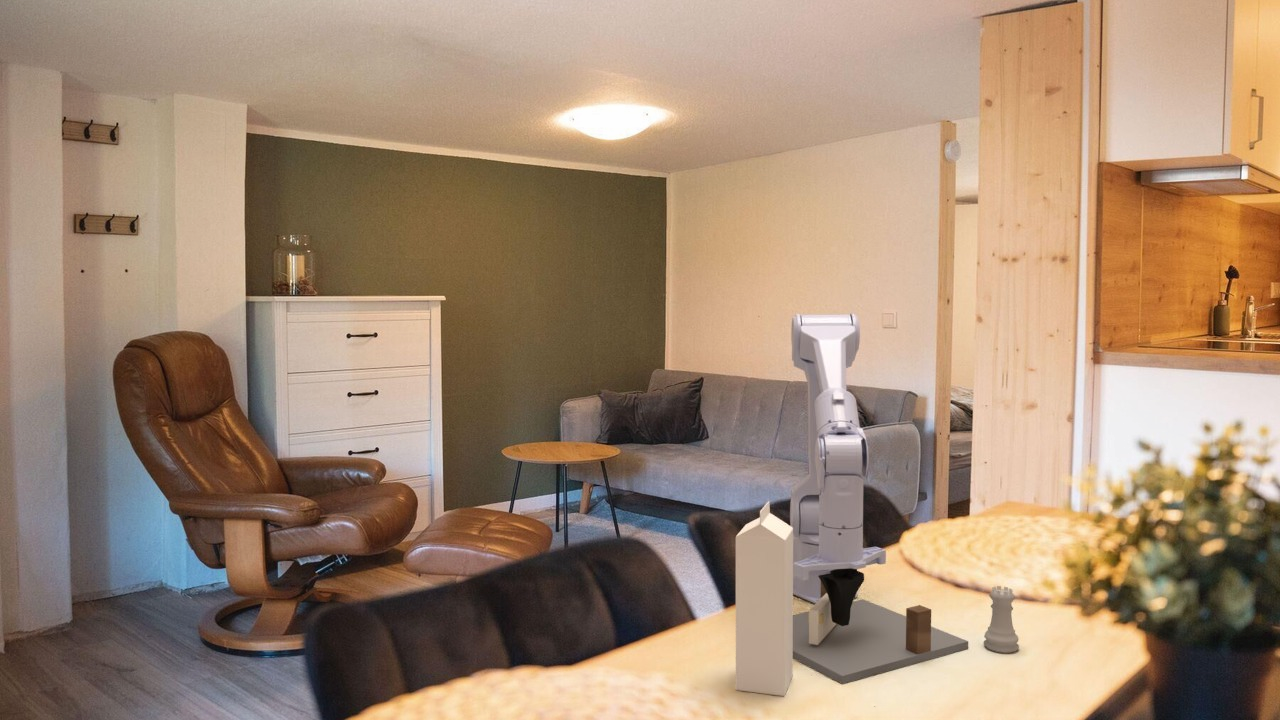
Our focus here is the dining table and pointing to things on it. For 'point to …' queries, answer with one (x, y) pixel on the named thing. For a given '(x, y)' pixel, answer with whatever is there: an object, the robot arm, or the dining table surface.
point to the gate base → (866, 644)
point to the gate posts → (914, 627)
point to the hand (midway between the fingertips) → (840, 623)
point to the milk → (764, 605)
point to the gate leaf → (820, 620)
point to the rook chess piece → (1001, 623)
